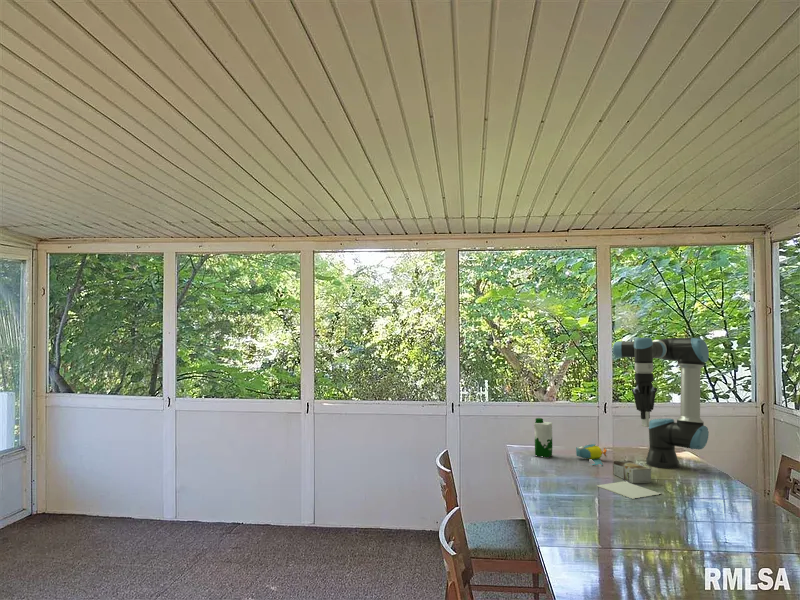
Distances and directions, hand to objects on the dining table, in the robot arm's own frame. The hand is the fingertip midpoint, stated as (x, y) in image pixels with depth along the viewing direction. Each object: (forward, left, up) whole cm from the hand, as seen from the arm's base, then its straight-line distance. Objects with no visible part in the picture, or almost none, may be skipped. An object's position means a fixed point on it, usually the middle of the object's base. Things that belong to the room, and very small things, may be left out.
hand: (645, 426), depth 236 cm
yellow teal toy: (-14, -49, -27) cm, 58 cm away
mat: (+11, 0, -26) cm, 29 cm away
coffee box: (-3, -5, -23) cm, 24 cm away
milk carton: (+4, -66, -27) cm, 71 cm away
